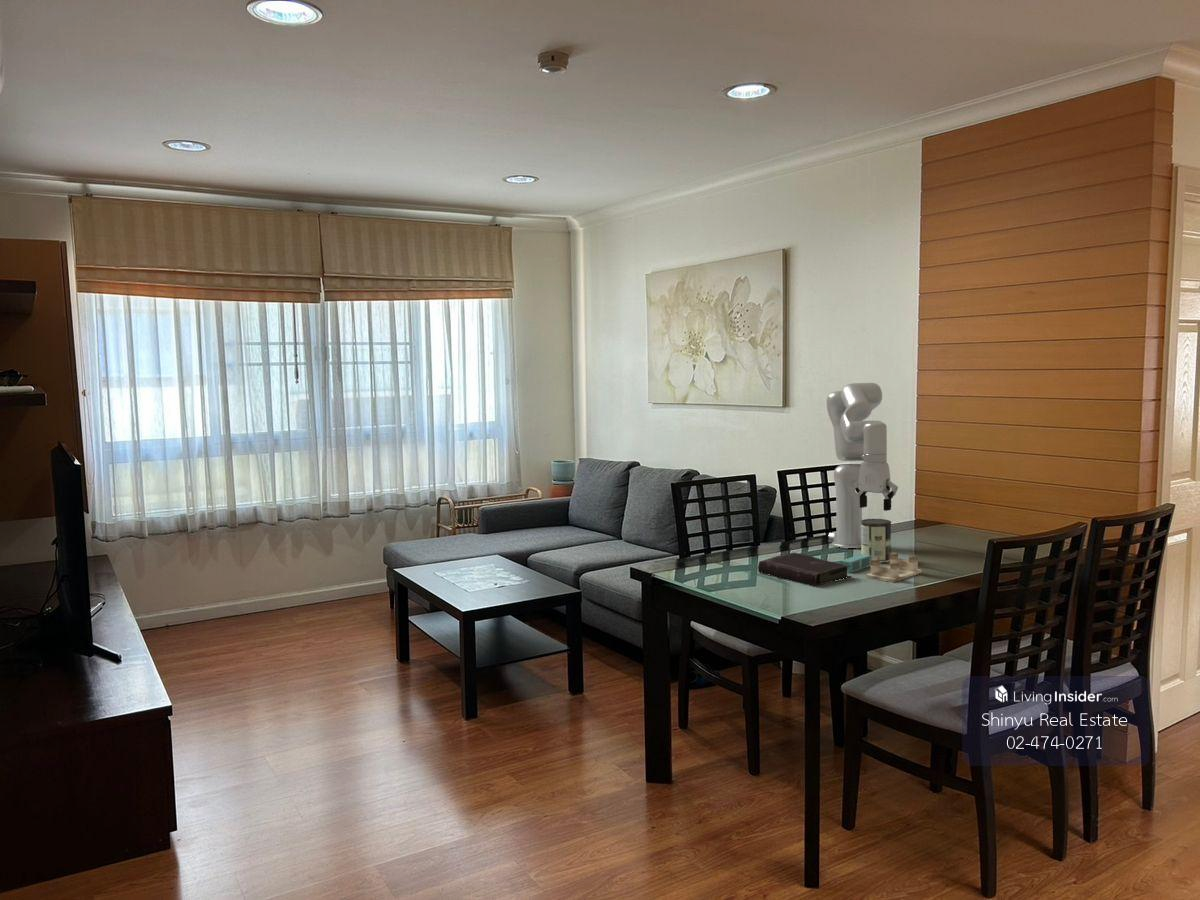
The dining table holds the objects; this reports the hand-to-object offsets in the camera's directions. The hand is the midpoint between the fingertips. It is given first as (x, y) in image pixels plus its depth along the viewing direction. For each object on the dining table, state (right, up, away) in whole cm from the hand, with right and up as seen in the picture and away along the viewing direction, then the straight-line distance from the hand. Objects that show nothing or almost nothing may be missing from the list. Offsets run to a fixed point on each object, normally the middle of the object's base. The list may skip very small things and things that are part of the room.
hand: (875, 508), depth 293 cm
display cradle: (+4, -21, -9) cm, 23 cm away
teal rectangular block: (-6, -21, +2) cm, 22 cm away
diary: (-25, -23, -5) cm, 34 cm away
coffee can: (+5, -19, +14) cm, 24 cm away
